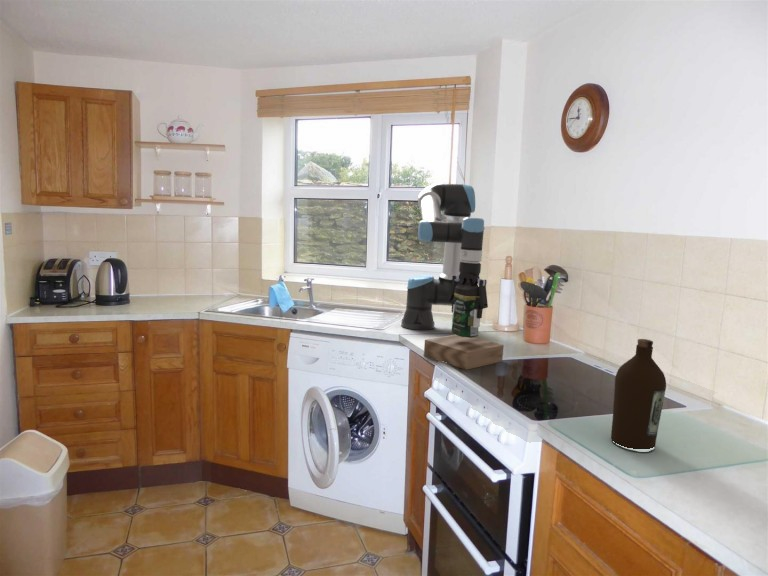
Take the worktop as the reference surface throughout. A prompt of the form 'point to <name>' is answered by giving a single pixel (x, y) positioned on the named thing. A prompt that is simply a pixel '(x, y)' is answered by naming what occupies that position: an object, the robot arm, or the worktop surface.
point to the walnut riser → (463, 351)
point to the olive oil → (638, 399)
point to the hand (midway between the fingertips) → (465, 324)
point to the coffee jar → (465, 311)
